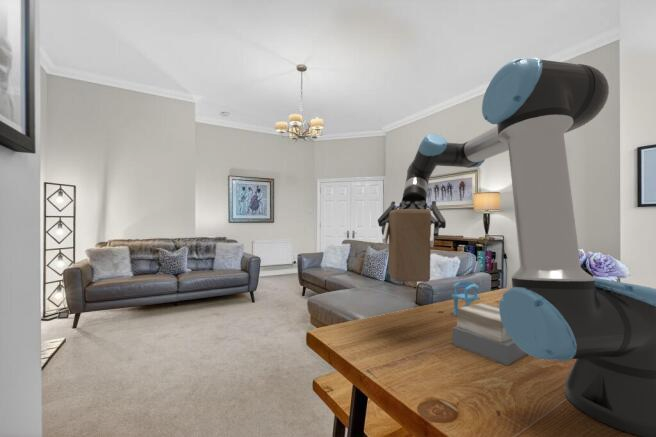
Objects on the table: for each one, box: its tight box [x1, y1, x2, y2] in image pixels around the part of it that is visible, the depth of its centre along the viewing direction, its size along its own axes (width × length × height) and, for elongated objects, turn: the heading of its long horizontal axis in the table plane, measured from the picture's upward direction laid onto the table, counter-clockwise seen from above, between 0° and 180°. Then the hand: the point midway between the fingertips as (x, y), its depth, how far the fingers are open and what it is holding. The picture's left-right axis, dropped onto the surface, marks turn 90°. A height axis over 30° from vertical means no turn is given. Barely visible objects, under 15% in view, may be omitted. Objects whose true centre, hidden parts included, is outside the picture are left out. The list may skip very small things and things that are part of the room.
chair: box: [451, 281, 480, 317], centre depth 104 cm, size 8×8×12 cm
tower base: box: [451, 325, 528, 366], centre depth 78 cm, size 14×14×5 cm
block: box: [387, 208, 432, 283], centre depth 84 cm, size 10×10×20 cm
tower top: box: [456, 302, 512, 343], centre depth 78 cm, size 12×12×5 cm
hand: (407, 242), depth 82 cm, fingers closed on block, 12 cm apart
